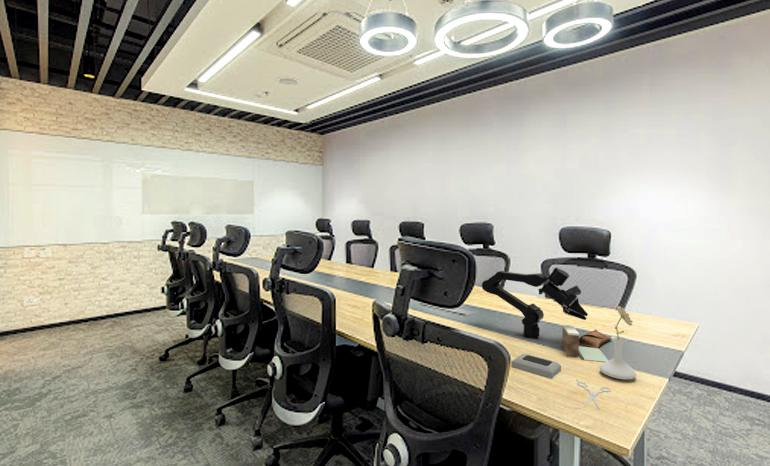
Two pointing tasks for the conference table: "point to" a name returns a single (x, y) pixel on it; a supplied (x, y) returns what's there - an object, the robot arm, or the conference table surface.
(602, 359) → the mat
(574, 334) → the walnut block
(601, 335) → the sunglasses case
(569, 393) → the conference table surface
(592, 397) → the scissors
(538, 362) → the grey flat block
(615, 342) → the flower in vase
